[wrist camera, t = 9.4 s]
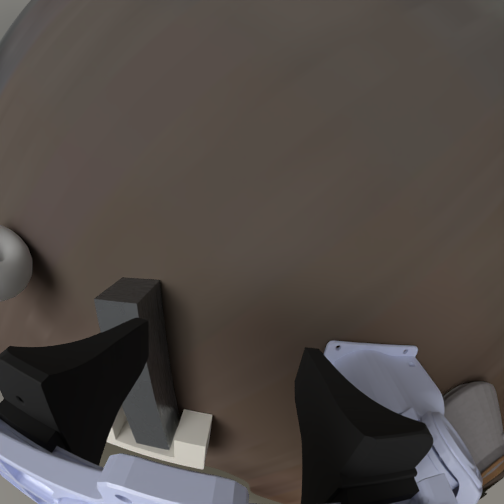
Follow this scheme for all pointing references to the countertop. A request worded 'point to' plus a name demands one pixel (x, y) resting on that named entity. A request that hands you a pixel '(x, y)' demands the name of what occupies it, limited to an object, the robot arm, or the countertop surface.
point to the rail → (157, 366)
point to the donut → (13, 264)
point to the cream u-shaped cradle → (183, 445)
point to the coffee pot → (478, 425)
